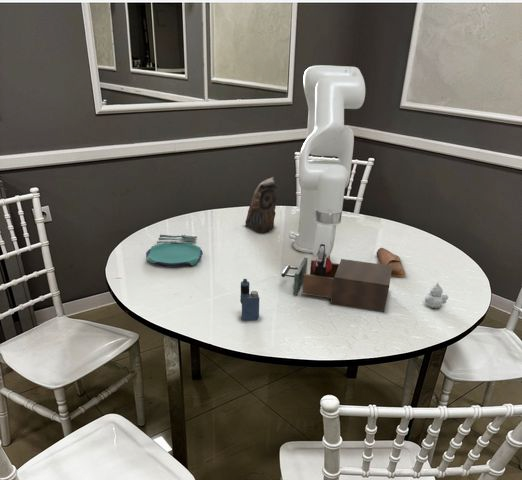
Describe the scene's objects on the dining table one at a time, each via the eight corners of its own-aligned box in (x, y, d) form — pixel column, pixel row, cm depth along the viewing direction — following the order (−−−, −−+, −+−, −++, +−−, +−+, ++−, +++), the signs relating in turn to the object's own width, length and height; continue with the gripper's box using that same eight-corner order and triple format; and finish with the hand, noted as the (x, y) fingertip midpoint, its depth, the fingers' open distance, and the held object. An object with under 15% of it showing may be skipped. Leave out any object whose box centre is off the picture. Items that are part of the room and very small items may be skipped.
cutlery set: (141, 268, 159) (141, 262, 157) (155, 237, 184) (154, 232, 182) (201, 269, 160) (200, 263, 158) (206, 238, 185) (206, 233, 183)
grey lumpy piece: (421, 301, 144) (427, 277, 140) (442, 302, 144) (449, 278, 140) (426, 310, 140) (432, 285, 135) (448, 311, 140) (455, 286, 135)
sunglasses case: (407, 276, 159) (400, 259, 156) (387, 284, 161) (380, 268, 158) (398, 256, 174) (392, 240, 171) (380, 264, 176) (373, 249, 173)
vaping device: (240, 316, 133) (240, 277, 126) (258, 316, 133) (259, 277, 127) (240, 321, 131) (240, 281, 124) (259, 320, 131) (260, 281, 125)
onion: (315, 272, 149) (318, 248, 145) (333, 276, 147) (336, 251, 143) (309, 279, 145) (311, 254, 140) (327, 283, 143) (330, 258, 138)
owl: (272, 223, 203) (274, 175, 192) (283, 232, 193) (286, 182, 182) (244, 225, 199) (245, 176, 188) (254, 235, 189) (255, 184, 178)
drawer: (277, 292, 145) (278, 271, 141) (288, 274, 156) (289, 255, 152) (340, 301, 140) (343, 280, 137) (346, 283, 151) (349, 263, 148)
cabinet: (330, 304, 141) (334, 277, 136) (338, 284, 153) (341, 258, 148) (384, 312, 138) (389, 285, 133) (387, 291, 150) (392, 265, 145)
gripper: (320, 206, 143) (315, 261, 153) (309, 224, 129) (304, 283, 139) (345, 209, 141) (337, 265, 151) (336, 227, 127) (329, 287, 138)
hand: (321, 273), depth 145 cm, fingers closed on onion, 5 cm apart
